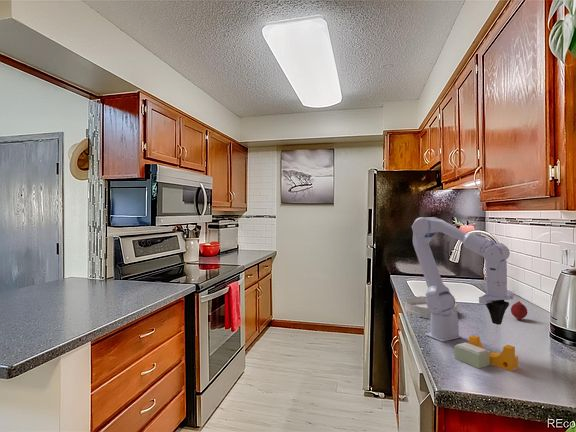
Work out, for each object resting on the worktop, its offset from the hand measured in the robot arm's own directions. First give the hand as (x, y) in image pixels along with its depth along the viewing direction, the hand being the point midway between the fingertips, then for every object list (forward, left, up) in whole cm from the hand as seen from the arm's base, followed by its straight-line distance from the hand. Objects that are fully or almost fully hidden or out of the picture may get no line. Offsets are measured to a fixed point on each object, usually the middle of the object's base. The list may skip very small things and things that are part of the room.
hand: (496, 323), depth 111 cm
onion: (-41, -17, -10) cm, 46 cm away
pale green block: (+13, +1, -9) cm, 16 cm away
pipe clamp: (+8, +4, -10) cm, 13 cm away
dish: (-18, -42, -10) cm, 47 cm away
